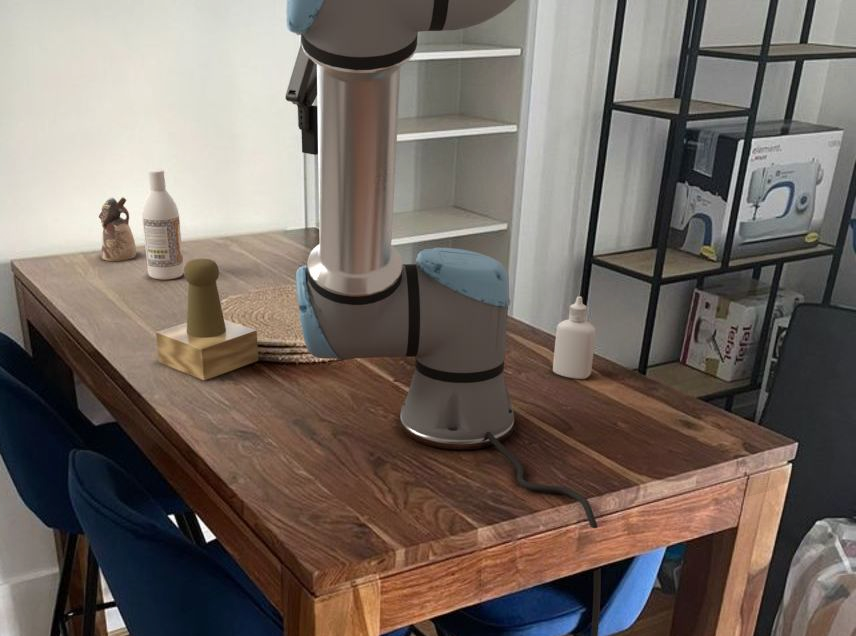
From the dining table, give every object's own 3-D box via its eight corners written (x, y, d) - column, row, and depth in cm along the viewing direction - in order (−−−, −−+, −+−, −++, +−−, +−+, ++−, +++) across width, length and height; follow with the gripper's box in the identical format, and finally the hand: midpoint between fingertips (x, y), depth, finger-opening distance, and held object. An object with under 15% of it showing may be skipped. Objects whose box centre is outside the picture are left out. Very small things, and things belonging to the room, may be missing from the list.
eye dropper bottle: (571, 365, 156) (579, 289, 151) (595, 377, 152) (604, 300, 146) (548, 370, 155) (555, 294, 149) (571, 383, 150) (579, 304, 144)
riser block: (258, 360, 159) (256, 330, 157) (204, 380, 152) (201, 349, 150) (213, 344, 166) (210, 314, 163) (159, 362, 159) (155, 332, 156)
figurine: (103, 252, 214) (96, 194, 208) (138, 251, 215) (131, 193, 209) (100, 261, 208) (92, 202, 202) (135, 260, 208) (128, 201, 202)
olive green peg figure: (218, 338, 153) (213, 267, 148) (180, 336, 154) (174, 265, 149) (231, 325, 159) (226, 255, 153) (194, 323, 160) (188, 253, 154)
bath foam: (185, 279, 197) (176, 173, 187) (149, 281, 196) (137, 174, 186) (183, 269, 203) (173, 165, 193) (147, 271, 202) (136, 167, 192)
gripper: (384, -18, 150) (383, 133, 161) (255, -11, 135) (263, 155, 145) (422, -16, 146) (418, 139, 156) (293, -9, 130) (298, 162, 141)
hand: (343, 147), depth 151 cm, fingers open, 13 cm apart
